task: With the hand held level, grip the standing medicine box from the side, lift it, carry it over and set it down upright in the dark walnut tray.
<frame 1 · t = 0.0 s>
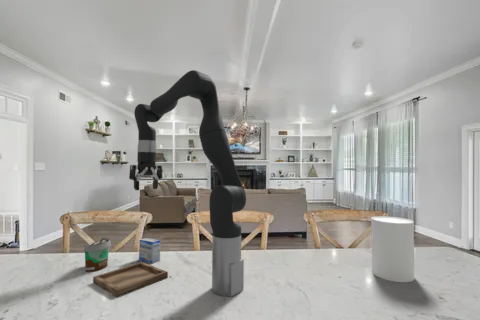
hand: (146, 189, 112), 29 cm above the kitchen island, tool pointing down, fingers open, 8 cm apart
medicine box: (149, 261, 109), on the kitchen island
canister: (392, 274, 97), on the kitchen island
food container: (100, 268, 101), on the kitchen island
walnut tray: (131, 280, 90), on the kitchen island
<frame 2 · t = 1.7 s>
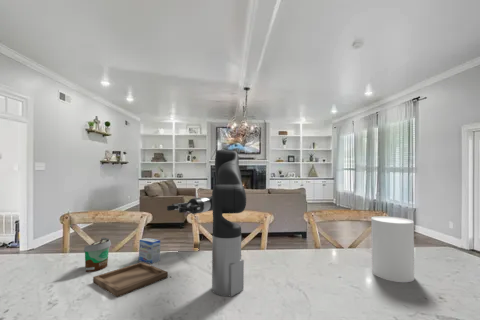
hand: (173, 209, 120), 20 cm above the kitchen island, tool horizontal, fingers open, 8 cm apart
nothing on the kitchen island moved.
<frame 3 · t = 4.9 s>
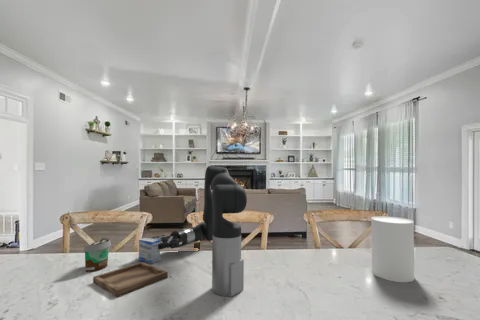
hand: (152, 245, 111), 6 cm above the kitchen island, tool horizontal, fingers open, 8 cm apart
medicine box: (149, 260, 109), on the kitchen island, touching gripper
everything else where it was.
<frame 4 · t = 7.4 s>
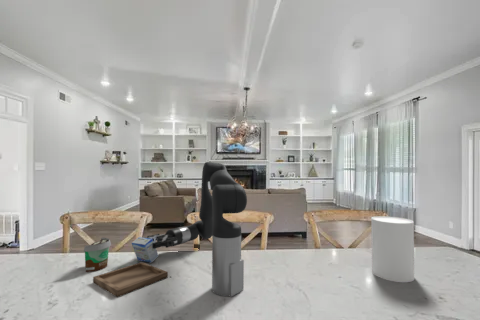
hand: (146, 244, 108), 7 cm above the kitchen island, tool horizontal, fingers closed on medicine box, 8 cm apart
medicine box: (148, 258, 109), point 1 cm above the kitchen island, touching gripper
everything else where it was.
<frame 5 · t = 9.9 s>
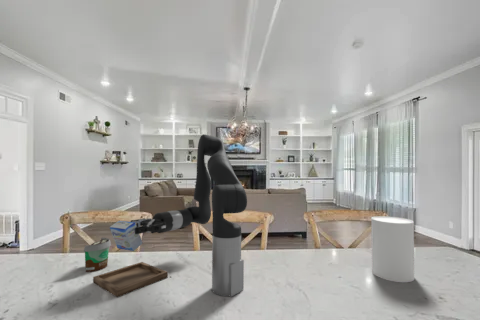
hand: (128, 229, 90), 18 cm above the kitchen island, tool horizontal, fingers closed on medicine box, 8 cm apart
medicine box: (130, 246, 90), point 12 cm above the kitchen island, touching gripper
everything else where it was.
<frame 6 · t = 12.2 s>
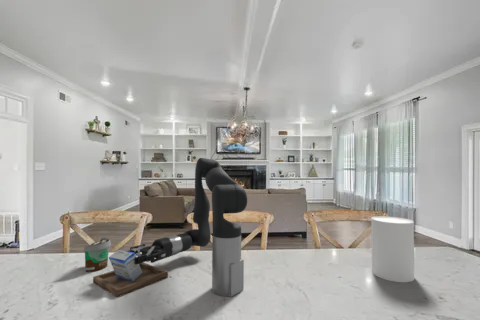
hand: (128, 258, 89), 8 cm above the kitchen island, tool horizontal, fingers closed on medicine box, 8 cm apart
medicine box: (130, 275, 90), point 2 cm above the kitchen island, touching gripper
everything else where it was.
when the fingers open (8 cm above the kitchen island, at t = 14.3 s): medicine box stays where it is, resting on walnut tray.
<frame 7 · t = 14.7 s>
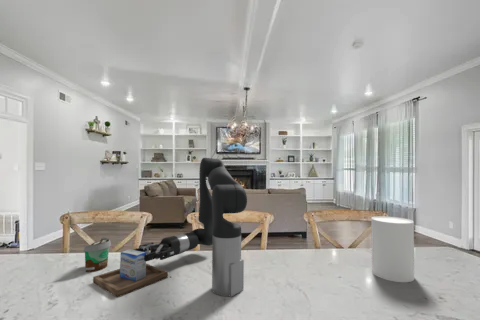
hand: (138, 255, 92), 8 cm above the kitchen island, tool horizontal, fingers open, 8 cm apart
medicine box: (132, 277, 91), point 1 cm above the kitchen island, touching walnut tray
everything else where it was.
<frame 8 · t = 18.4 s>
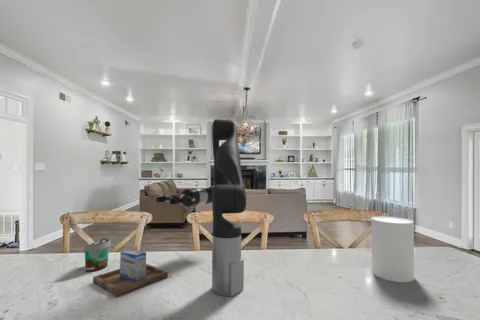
hand: (163, 200, 101), 26 cm above the kitchen island, tool horizontal, fingers open, 8 cm apart
nothing on the kitchen island moved.
at the end: medicine box inside the target area on the walnut tray (0.6 cm from its centre), point 0.6 cm above the walnut tray's base; medicine box tilted 0°; the gripper is holding nothing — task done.
